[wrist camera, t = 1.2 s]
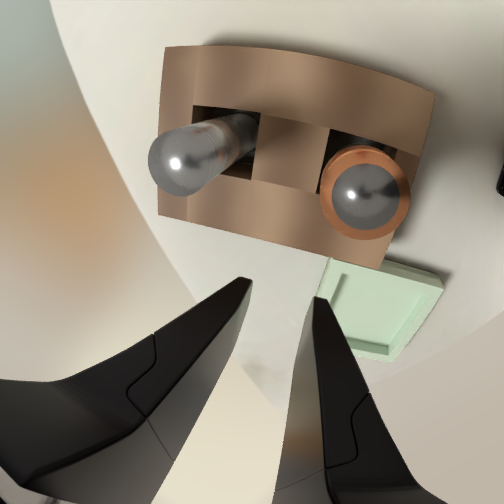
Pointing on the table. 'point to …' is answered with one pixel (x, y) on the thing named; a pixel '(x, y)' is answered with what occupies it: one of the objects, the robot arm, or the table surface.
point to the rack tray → (379, 304)
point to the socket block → (287, 139)
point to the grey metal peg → (200, 152)
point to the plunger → (364, 192)
